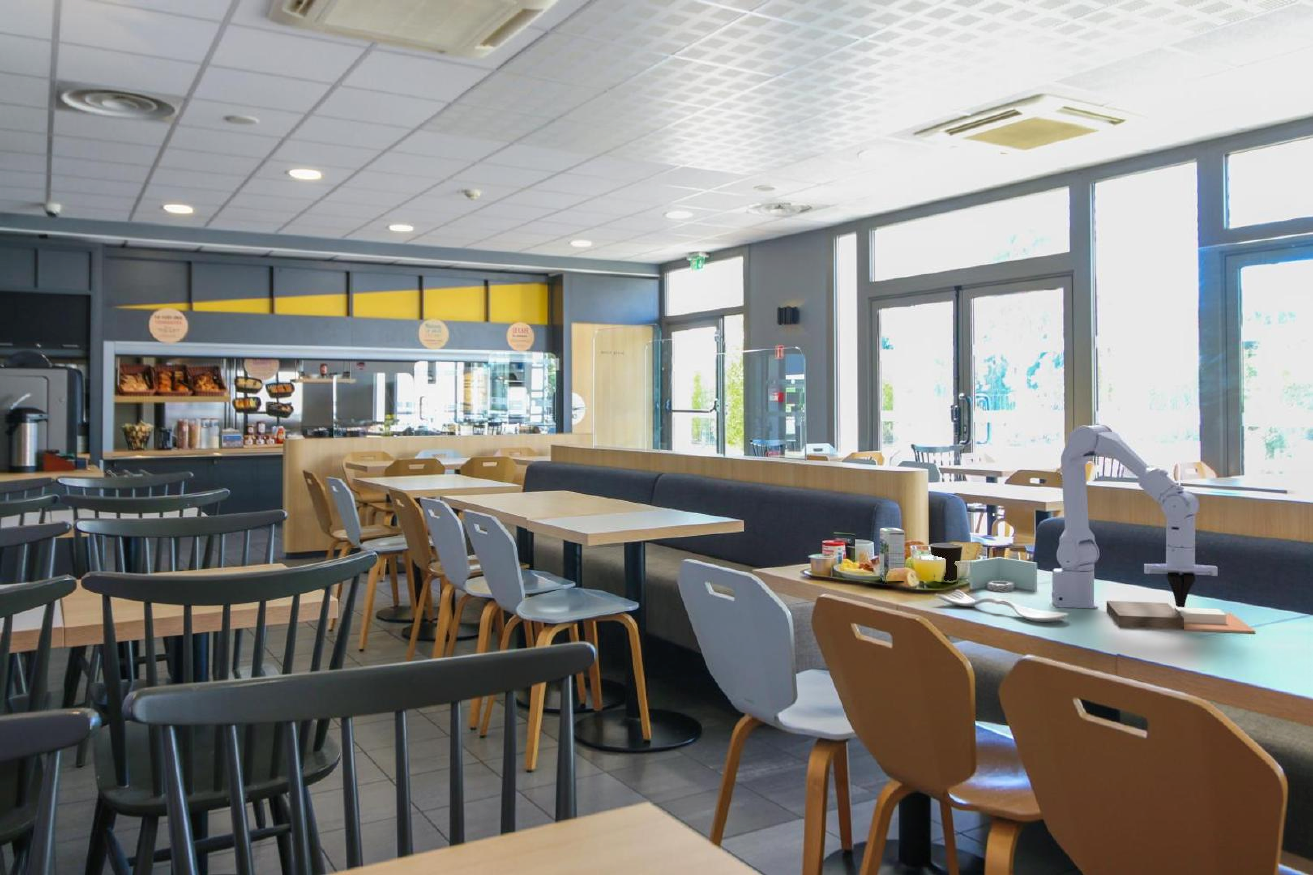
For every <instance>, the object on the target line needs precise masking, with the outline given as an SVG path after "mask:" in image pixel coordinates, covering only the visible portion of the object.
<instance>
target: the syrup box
mask: <svg viewBox="0 0 1313 875" xmlns="http://www.w3.org/2000/svg"><path fill="white" fill-rule="evenodd" d="M905 545H906V531H905V530H903V529H900V528H898V527H883V528H881V527H880V529H879V558H878V560H879V565H878V566H879V570H878V571H879V573H878V574H879V576H881V578H882V580H881V581H883V582H884V583H887V582H886V575H887V573H888V571H889V570H890V569H893V568H905V567H906V566H905V564H906V563H905V560H906V558H905V557H906V555H905V554H906V552H905V551H906V550H905V549H906V546H905ZM905 569H906V568H905Z"/></svg>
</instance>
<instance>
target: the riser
mask: <svg viewBox="0 0 1313 875" xmlns="http://www.w3.org/2000/svg"><path fill="white" fill-rule="evenodd" d="M1106 613H1107V614H1108V615H1109V616H1110V617H1111V619H1112V620H1113V621H1114V623H1115V624H1116V625H1117V626H1118V627H1119V626H1120V627H1119V628H1121V627H1122V628H1138V629H1139V628H1143V629H1144V628H1145V629H1161V630H1162V629H1165V630H1166V629H1167V630H1184V618H1183V617H1182V616H1181V615H1180V614H1179V613H1178V612H1177V611H1176V610H1175V608H1173V606H1171V605H1170V604H1169V603H1168V602H1148V601H1147V602H1146V601H1144V602H1143V601H1123V600H1122V601H1121V600H1120V601H1119V600H1106Z"/></svg>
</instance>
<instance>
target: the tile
mask: <svg viewBox="0 0 1313 875" xmlns="http://www.w3.org/2000/svg"><path fill="white" fill-rule="evenodd" d="M1174 610H1176V611H1177V612H1178V613H1179V614H1180V615H1181V616H1182V617H1183V618H1184V622H1193V623H1218V624H1226V614H1225V613H1226V612H1223V610H1221V609H1219V608H1204V607H1203V608H1199V607H1197V608H1195V607H1177V606H1176V607H1174Z"/></svg>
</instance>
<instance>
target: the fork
mask: <svg viewBox="0 0 1313 875" xmlns="http://www.w3.org/2000/svg"><path fill="white" fill-rule="evenodd" d="M935 597H936V599H939V600H942V601H944V602H946V603H947V602H948V603H950V604H953V605H957V606H960V607H974V606H977V605H979V604H982V603H992V604H996V605H1003V606H1007V607H1009V608H1011V609H1012V610H1014V611H1015V613H1017V614H1016V615H1019V616H1021V617H1022V618H1024V619H1026V620H1029V621H1033V622H1036V621H1037V623H1048V622H1049V623H1051V622H1057V621H1061V620H1065V619H1067V618H1068V617H1069V614H1068V613H1066V612H1060V611H1059V612H1058V611H1048V610H1043V609H1041V610H1040V609H1036V608H1030V607H1026V606H1022V605H1019V604H1016V603H1014V602H1012V601H1008V600H1005V599H1000V598H993V597H983V598H980V599H977V600H975V599H974V598H972V597H970V596H969V595H967V594H966V593H965V592H963V591H961V590H959V589H955V591H953V592H952V593H950V594H947V595H945V594H939V593H935Z"/></svg>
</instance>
